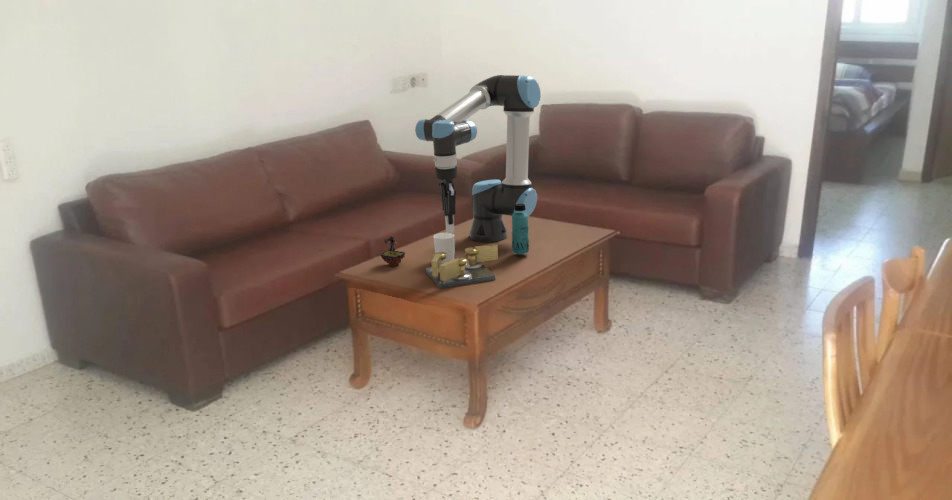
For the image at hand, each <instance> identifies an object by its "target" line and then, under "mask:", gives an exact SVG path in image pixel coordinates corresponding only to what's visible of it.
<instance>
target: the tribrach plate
mask: <svg viewBox="0 0 952 500" xmlns="http://www.w3.org/2000/svg"><path fill="white" fill-rule="evenodd" d="M425 273H426V274H427V275H428V276H429V277H430V279H431V280H432V281H433V282H434V284H435V285H437V287H438V288H439V289H446V288H451V287H458V286H464V285H471V284H477V283H484V282H490V281H495V280H496V275H495V274H494V273H493V272H492V271H491V270H490V269H489V268H487V267H486V266H485V264H483V262H476V264H475V265H469V261H468V264H467V265H465V275H463V276H459V275H458V276H456V277H454V278H451V279H449V280H446V281H442V280H440V274H439V276H432V266H430V267H426V268H425Z"/></svg>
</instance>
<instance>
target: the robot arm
mask: <svg viewBox="0 0 952 500" xmlns="http://www.w3.org/2000/svg"><path fill="white" fill-rule="evenodd" d="M541 95H542V94H541V87H540V85H539V82H537V79H535V77H533V76H531V75H530V76H529V75H523V74H522V75H510V74H509V75H505V74H497V75H494V76H490V77H488V78H486V79H484V80H482V81H480V82H478V83H477V84H475V85H473V86H472V87H471V88H470V89H469V92H468V93H467V94H465V95H463V96H462V97H461V98H459V99H458V100H457V101H455V102H454V103H452V104H450V105H449V106H448V107H446V108H445V109H443V110H442V111H441V112H439V113H437V114H436V115H435V116H433V117H432V118H430V119H427V118H425V119H420V120H417V123H416V125H415V127H414V131H415V136H416V138H417V139H418V140H420V141H424V142H425V141H426V142H433V144H432V145H433V155H434V156H433V157H434V158H432V161H433V162H434V166H435V168H434V173H435V178H436V179H437V180H440V182H438V186H439V191H440V200H441V205H442V211H443V213H444V214H443V215H444V220H445V233H452V234H454V233H455V232H456V230H455V217H454V216H455V215H456V199H457V196H456V195H457V189H455V183H453V182H454V181H453V180H454V179H456V178H457V177H458V168H457V165H458V161H457V160H458V159H457V149H456V147H458V146H461V145H463V144H468V143H470V142H471V141H473V140H475V139H476V138H477V135H478V127H477V126H476V124H475V123H474V121H472V120H468V119H469V118H471V117H472V116H473V115H474V114H476V113H477V112H479V111H480V110H486V109H488V108H489V107H494V106H498V107H500V106H501V107H503V113H504V114H505V115H506V117H507V119H506V120H507V121H506V149H505V150H506V154H505V155H506V157H505V159H506V160H505V161H506V163H505V178H504V179H503V180H502V181H501V179H486V180H481V181H478V182H476V183H474V184H473V185H472V193H471V196H472V197H471V198H472V214H473V219H472V223H471V226H470V227H471V228H470V231H469V238H470V239H471V240H473V241H474V242H475V241H476V242H480V243H481V242H482V243H490V242H491V243H493V242H498V241H501V240H504V239H506V238H507V237H508V231H507V227H506V224H505V222H504V220H503V216H509V217H510V216H511V217H512V215H513V214H514V213H516V212H525V213H526V214H527V215H528V217H529V216H530V215H532V213H533V212H534V210H535V208H536V206H537V202H538V193H537V191H536V189H534V188H533V187H532V181H531V180H530V179H529V177H528V176H529V155H530V154H529V151H530V150H529V149H530V117H531V115H532V114H533V113H534V112H535V108H536V107H538V106H539V104H540V101H541ZM519 203H522V204H525V208H526V210H524V211H515V209H514V208H515V204H519Z"/></svg>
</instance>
